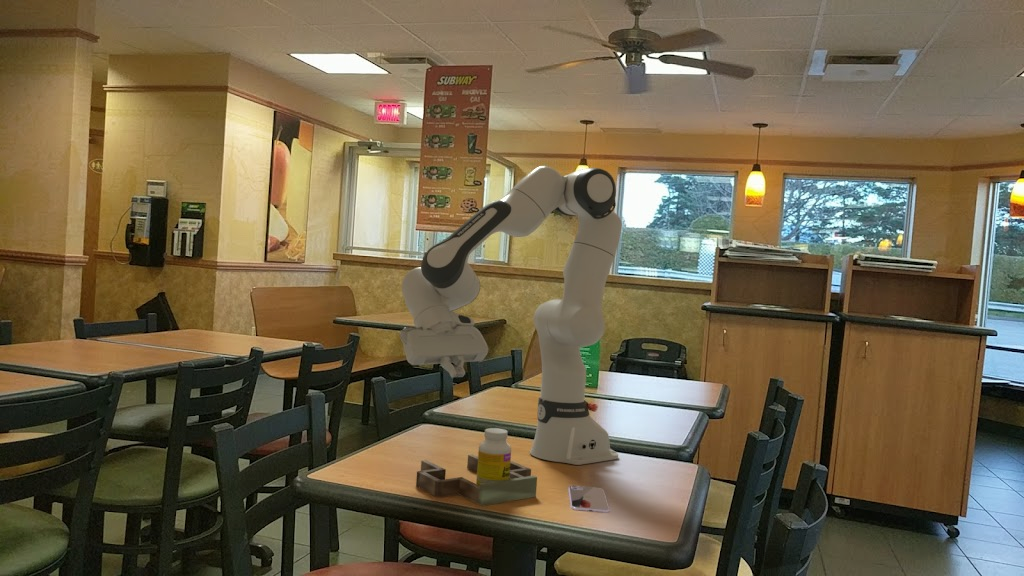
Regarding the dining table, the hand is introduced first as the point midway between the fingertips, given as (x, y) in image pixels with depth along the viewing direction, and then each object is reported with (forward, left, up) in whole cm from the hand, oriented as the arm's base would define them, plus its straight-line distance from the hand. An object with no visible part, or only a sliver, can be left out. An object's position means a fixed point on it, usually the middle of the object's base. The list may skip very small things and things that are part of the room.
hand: (458, 375), depth 159 cm
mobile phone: (-20, +24, -22) cm, 38 cm away
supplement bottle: (-2, +16, -22) cm, 27 cm away
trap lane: (-1, +10, -21) cm, 24 cm away
